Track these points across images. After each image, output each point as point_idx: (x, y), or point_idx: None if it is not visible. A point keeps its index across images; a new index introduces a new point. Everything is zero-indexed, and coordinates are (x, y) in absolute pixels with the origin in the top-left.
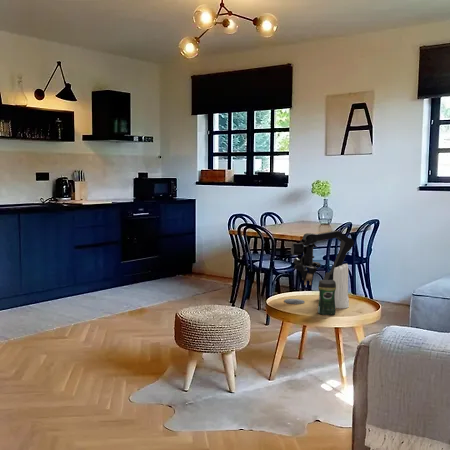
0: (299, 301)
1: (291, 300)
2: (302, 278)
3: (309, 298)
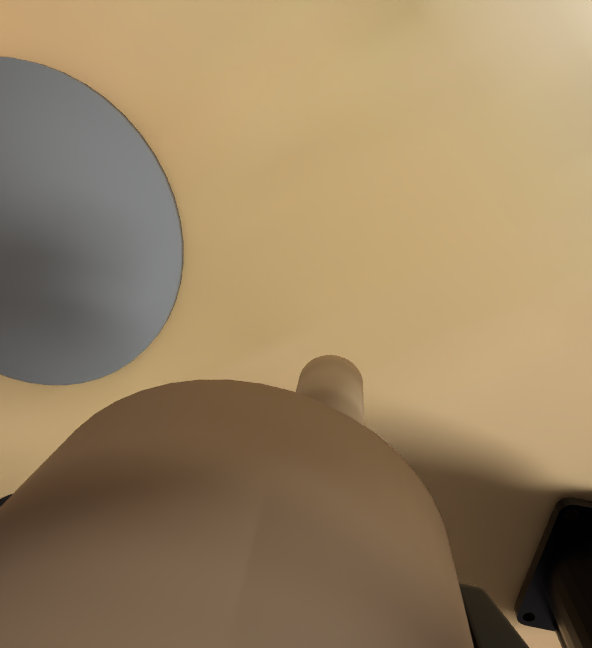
0: (64, 312)
1: (20, 178)
2: (46, 460)
3: (407, 313)
